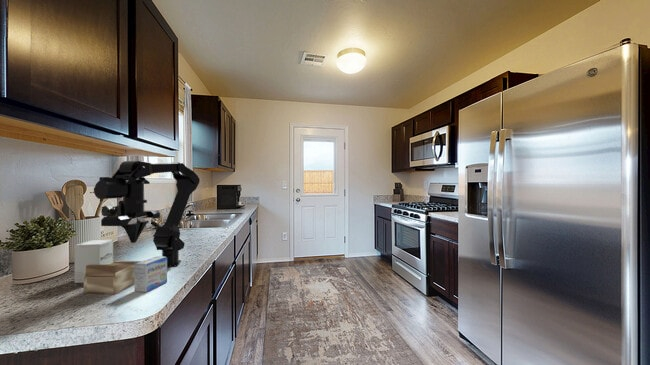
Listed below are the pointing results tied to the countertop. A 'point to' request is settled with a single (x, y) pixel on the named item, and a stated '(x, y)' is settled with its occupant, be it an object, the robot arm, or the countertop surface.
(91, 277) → the birch box
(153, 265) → the medicine box
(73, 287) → the countertop surface
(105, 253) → the supplement box
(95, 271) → the lid
